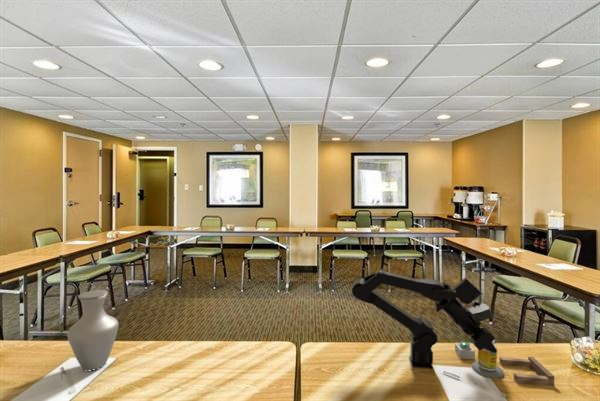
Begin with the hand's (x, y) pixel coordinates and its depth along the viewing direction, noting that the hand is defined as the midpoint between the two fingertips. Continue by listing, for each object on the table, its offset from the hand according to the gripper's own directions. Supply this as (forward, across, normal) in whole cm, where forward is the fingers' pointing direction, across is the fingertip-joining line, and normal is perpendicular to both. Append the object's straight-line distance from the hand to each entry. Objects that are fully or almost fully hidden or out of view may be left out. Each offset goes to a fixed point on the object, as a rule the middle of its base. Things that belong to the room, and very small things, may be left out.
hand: (492, 347), depth 101 cm
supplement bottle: (+4, 0, +6) cm, 7 cm away
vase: (-87, -19, +100) cm, 134 cm away
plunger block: (+2, +9, +9) cm, 13 cm away
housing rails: (+13, 0, -2) cm, 13 cm away
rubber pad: (+5, 0, +6) cm, 8 cm away
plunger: (+2, +9, +9) cm, 13 cm away
